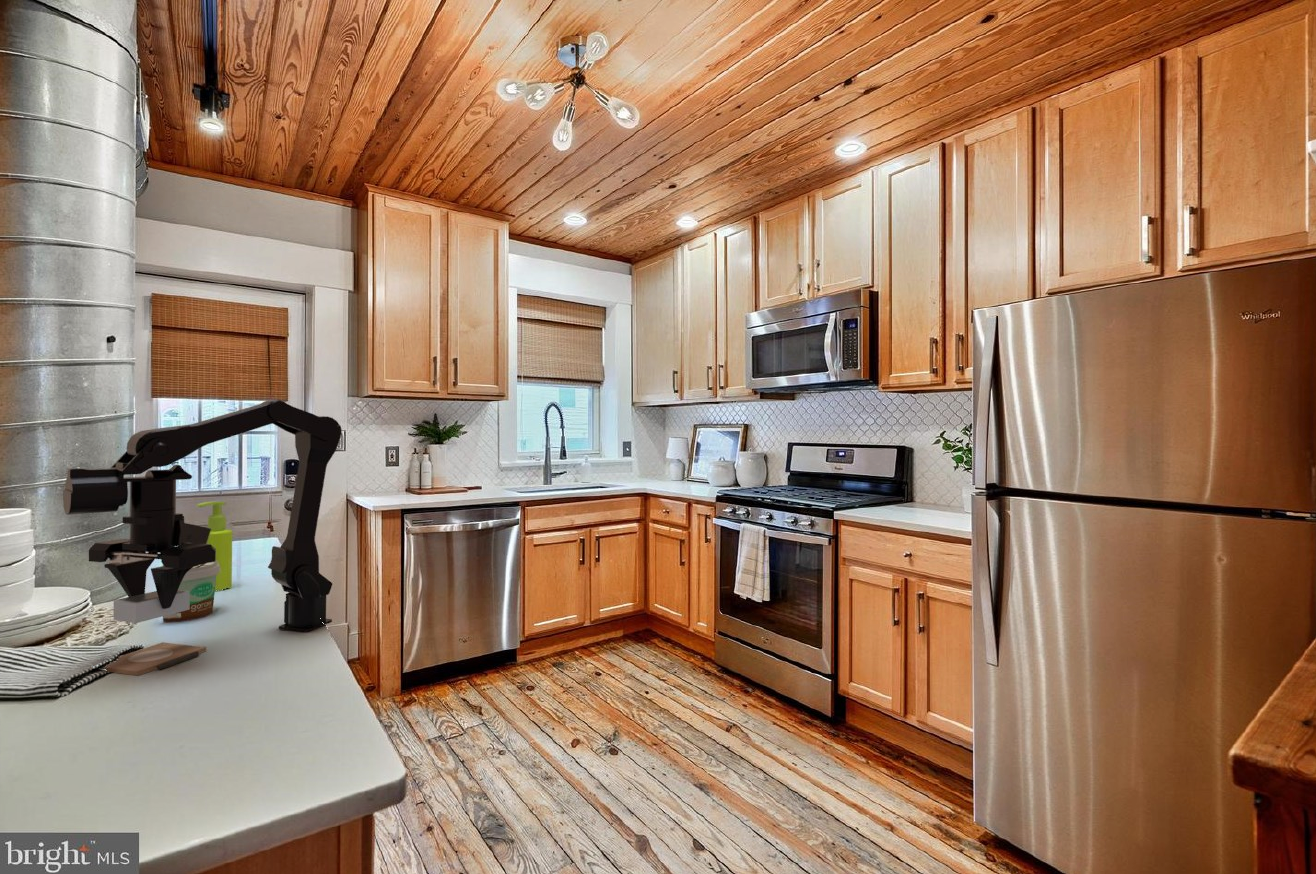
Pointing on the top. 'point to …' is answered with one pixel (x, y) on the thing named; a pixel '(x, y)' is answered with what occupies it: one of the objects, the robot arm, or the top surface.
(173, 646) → the cutting board
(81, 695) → the top surface
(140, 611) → the white rectangular block
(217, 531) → the soap dispenser
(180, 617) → the food container
